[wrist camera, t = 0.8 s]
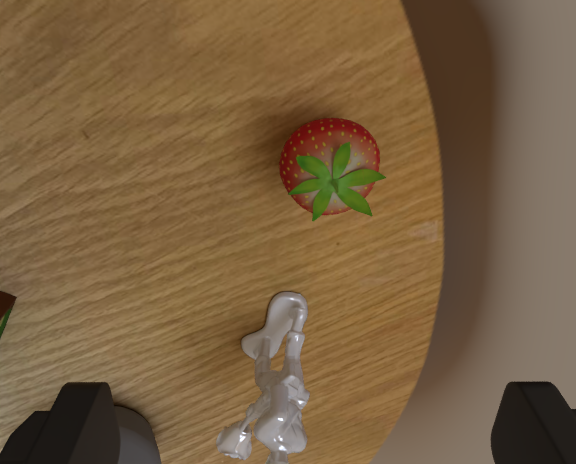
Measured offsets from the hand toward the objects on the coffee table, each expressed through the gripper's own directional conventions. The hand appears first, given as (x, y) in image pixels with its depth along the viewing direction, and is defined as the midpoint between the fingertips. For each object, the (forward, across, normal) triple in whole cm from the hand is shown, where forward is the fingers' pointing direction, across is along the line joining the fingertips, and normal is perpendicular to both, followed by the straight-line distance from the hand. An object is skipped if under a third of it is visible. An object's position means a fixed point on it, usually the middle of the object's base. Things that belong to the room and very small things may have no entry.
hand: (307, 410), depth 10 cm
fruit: (+22, -2, +2) cm, 22 cm away
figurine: (+22, +1, +17) cm, 28 cm away
